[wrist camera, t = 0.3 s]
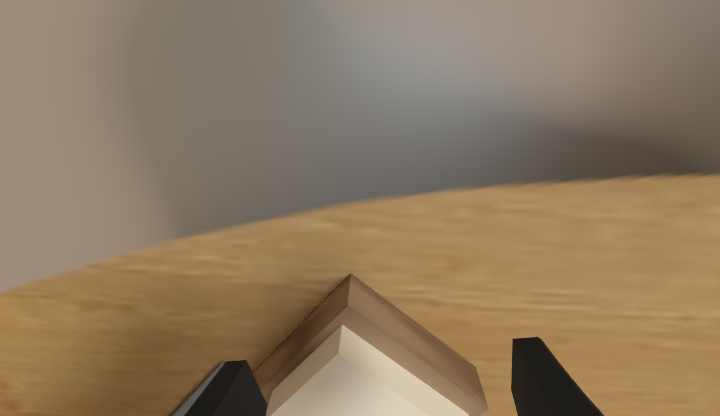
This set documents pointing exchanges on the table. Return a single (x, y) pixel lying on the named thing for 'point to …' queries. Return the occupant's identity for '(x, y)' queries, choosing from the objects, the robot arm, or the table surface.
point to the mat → (196, 393)
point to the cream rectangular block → (355, 384)
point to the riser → (377, 345)
